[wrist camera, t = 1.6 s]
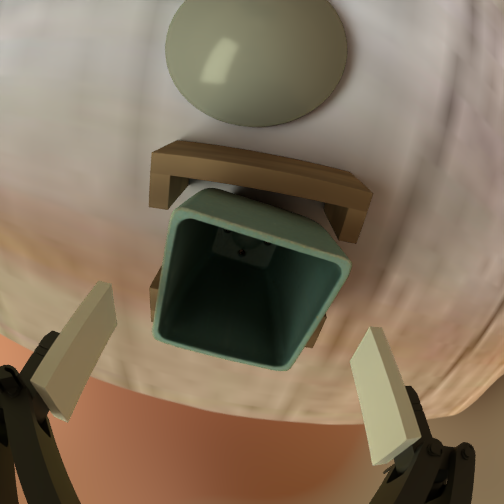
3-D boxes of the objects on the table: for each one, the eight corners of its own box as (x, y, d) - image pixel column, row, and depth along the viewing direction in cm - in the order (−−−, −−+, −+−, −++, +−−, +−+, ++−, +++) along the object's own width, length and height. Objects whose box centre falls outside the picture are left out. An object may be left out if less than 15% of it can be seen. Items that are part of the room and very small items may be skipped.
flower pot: (324, 200, 21) (358, 263, 13) (282, 291, 25) (287, 374, 17) (209, 162, 20) (172, 205, 12) (183, 262, 24) (150, 339, 16)
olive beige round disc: (186, -29, 12) (184, -33, 11) (354, -4, 13) (357, -8, 12) (157, 115, 18) (153, 116, 17) (325, 142, 19) (328, 143, 18)
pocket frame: (177, 140, 19) (151, 152, 15) (350, 172, 20) (373, 193, 15) (168, 284, 25) (151, 321, 21) (306, 307, 26) (312, 347, 21)
